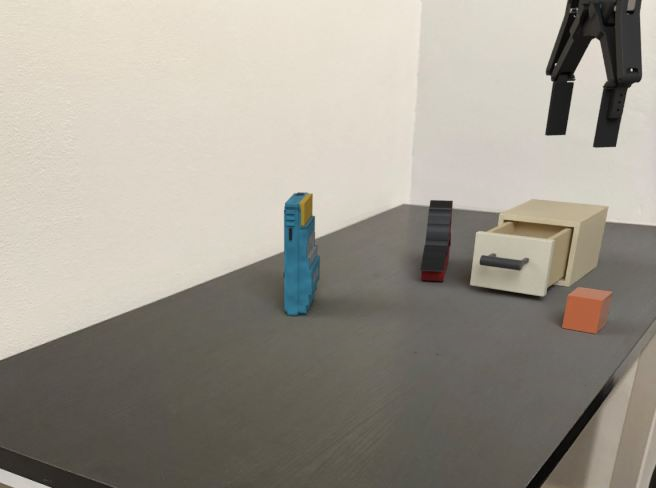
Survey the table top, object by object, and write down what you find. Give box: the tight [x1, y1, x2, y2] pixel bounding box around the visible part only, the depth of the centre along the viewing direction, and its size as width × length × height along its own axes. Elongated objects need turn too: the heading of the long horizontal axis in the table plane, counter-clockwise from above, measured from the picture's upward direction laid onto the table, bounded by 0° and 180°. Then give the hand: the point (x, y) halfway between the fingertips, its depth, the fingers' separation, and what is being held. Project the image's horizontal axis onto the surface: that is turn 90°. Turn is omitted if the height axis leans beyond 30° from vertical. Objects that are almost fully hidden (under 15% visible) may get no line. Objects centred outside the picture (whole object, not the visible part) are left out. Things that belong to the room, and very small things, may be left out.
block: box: [561, 286, 613, 335], centre depth 105 cm, size 4×4×4 cm
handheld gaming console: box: [283, 191, 321, 317], centre depth 112 cm, size 10×4×15 cm, turn 169°
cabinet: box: [497, 198, 609, 288], centre depth 128 cm, size 15×13×10 cm
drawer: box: [469, 220, 574, 298], centre depth 119 cm, size 18×11×8 cm, turn 144°
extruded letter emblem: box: [420, 199, 454, 282], centre depth 128 cm, size 18×4×11 cm, turn 165°
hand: (578, 141), depth 105 cm, fingers open, 13 cm apart
